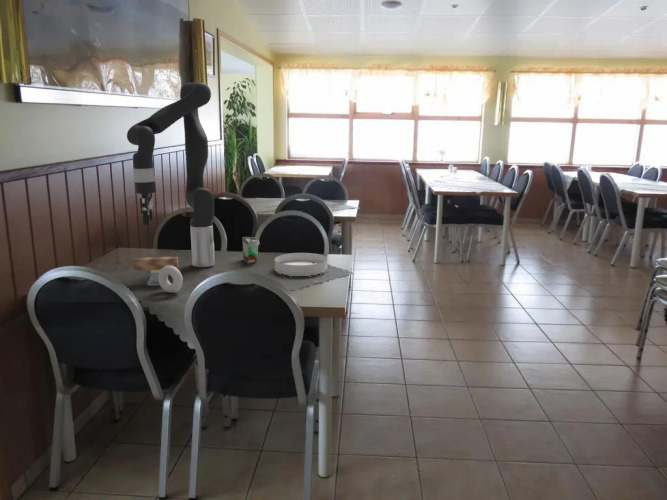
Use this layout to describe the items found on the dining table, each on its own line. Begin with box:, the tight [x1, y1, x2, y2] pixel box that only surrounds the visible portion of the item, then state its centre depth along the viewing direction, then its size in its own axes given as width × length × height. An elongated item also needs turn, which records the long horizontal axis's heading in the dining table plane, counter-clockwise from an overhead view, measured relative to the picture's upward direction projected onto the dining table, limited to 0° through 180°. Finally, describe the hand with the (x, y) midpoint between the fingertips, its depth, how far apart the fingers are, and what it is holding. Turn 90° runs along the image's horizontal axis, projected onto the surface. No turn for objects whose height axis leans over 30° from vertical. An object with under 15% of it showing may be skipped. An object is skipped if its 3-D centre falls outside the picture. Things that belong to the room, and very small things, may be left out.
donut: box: [158, 266, 184, 294], centre depth 197 cm, size 10×3×10 cm, turn 66°
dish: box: [274, 252, 328, 275], centre depth 230 cm, size 22×22×5 cm
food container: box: [241, 236, 260, 265], centre depth 243 cm, size 12×6×10 cm, turn 22°
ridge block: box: [146, 269, 161, 286], centre depth 210 cm, size 6×8×6 cm
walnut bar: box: [132, 256, 180, 271], centre depth 209 cm, size 16×4×4 cm, turn 98°
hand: (148, 222), depth 211 cm, fingers open, 8 cm apart
